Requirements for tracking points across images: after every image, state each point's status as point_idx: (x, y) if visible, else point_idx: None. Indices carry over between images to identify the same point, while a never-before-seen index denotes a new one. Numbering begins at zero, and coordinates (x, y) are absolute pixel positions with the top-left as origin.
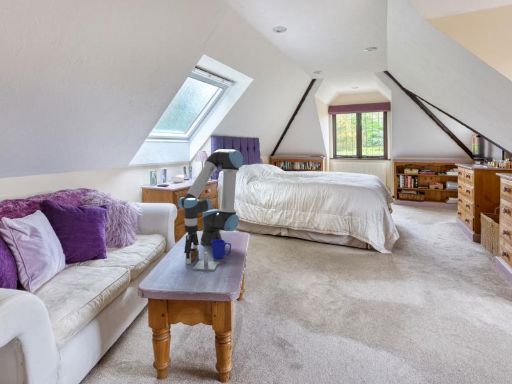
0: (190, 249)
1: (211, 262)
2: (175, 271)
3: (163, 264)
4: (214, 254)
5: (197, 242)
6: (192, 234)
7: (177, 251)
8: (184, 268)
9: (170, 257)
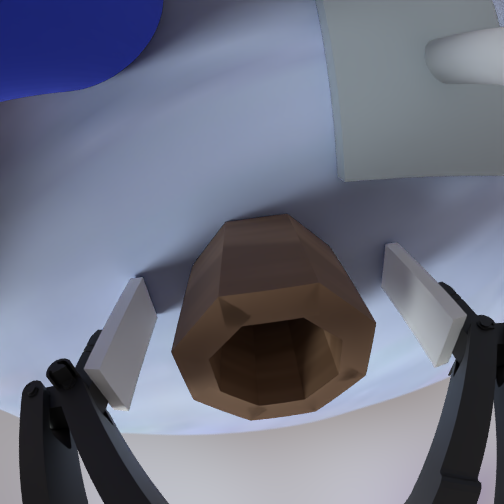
0: (476, 355)
1: (363, 9)
2: (496, 280)
3: (382, 397)
4: (148, 14)
5: (47, 398)
6: None
7: (131, 422)
8: (469, 249)
9: (252, 423)
